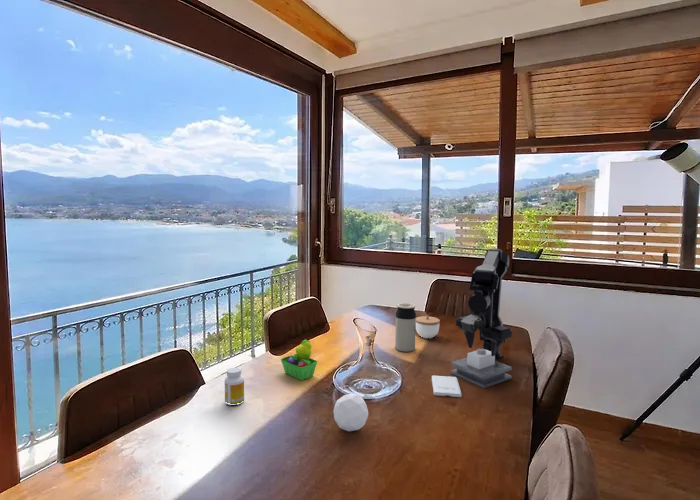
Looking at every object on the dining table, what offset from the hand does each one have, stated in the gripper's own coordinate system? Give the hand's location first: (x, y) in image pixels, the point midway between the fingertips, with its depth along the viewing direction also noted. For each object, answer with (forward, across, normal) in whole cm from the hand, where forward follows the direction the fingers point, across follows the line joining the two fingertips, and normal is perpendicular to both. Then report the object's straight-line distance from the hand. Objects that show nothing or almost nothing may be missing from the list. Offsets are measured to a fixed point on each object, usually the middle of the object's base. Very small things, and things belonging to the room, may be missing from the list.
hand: (481, 351), depth 135 cm
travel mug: (+9, -34, -4) cm, 35 cm away
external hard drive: (+9, 0, -16) cm, 19 cm away
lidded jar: (+9, -41, +15) cm, 45 cm away
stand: (+8, 0, 0) cm, 8 cm away
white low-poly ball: (+9, +3, -54) cm, 55 cm away
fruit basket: (+9, -34, -51) cm, 62 cm away
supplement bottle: (+9, -26, -76) cm, 81 cm away
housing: (+4, 0, 0) cm, 4 cm away
